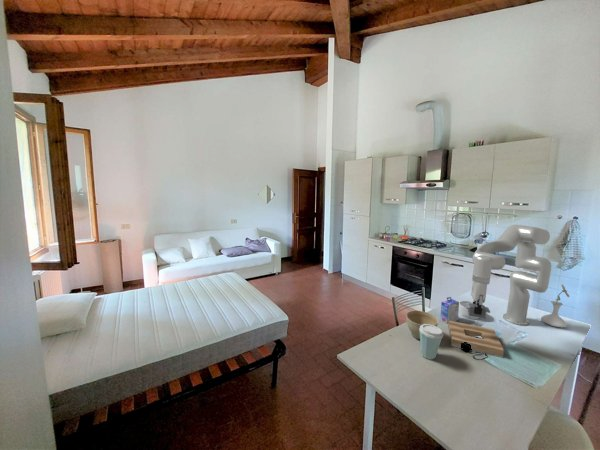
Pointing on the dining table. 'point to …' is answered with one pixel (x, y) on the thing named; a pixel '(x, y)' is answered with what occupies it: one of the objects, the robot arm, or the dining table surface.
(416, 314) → the planter bowl
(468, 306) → the flanged block
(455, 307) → the ink cartridge box
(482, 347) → the wooden board
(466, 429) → the dining table surface
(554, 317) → the flower in vase
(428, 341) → the disposable coffee cup
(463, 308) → the ramekin
